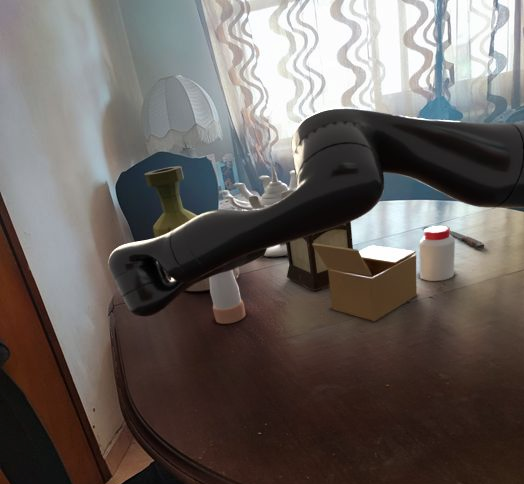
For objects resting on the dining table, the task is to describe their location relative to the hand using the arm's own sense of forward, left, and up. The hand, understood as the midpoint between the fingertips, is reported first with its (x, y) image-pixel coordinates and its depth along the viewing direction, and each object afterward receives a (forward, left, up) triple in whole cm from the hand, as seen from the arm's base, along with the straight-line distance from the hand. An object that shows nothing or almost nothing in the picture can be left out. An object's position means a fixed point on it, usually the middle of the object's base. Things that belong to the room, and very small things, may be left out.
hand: (307, 215), depth 83 cm
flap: (-6, -5, -11) cm, 13 cm away
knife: (-43, -47, -24) cm, 68 cm away
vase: (+38, -63, -24) cm, 77 cm away
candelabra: (+5, -63, -24) cm, 68 cm away
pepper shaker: (+20, -15, -24) cm, 35 cm away
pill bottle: (-30, -21, -24) cm, 44 cm away
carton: (-13, -11, -24) cm, 30 cm away
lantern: (-7, -33, -24) cm, 42 cm away
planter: (+28, -42, -24) cm, 56 cm away
